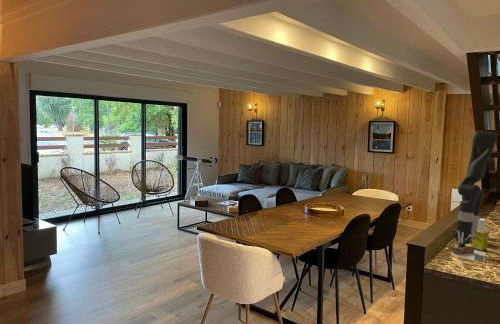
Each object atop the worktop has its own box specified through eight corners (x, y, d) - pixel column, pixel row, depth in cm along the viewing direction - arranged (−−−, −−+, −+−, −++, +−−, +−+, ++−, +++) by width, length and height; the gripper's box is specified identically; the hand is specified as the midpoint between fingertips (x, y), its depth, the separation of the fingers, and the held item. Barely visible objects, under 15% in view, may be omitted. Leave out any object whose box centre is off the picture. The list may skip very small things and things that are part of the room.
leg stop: (474, 258, 194) (475, 254, 194) (483, 260, 192) (484, 256, 192) (474, 259, 193) (474, 255, 192) (483, 261, 190) (483, 257, 190)
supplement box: (482, 251, 213) (484, 233, 212) (471, 248, 218) (473, 230, 217) (486, 250, 217) (489, 232, 216) (475, 247, 222) (478, 229, 221)
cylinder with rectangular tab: (473, 234, 253) (475, 217, 252) (488, 237, 248) (491, 219, 247) (470, 236, 246) (473, 219, 245) (486, 240, 241) (489, 221, 240)
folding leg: (456, 254, 199) (457, 248, 198) (452, 253, 201) (453, 246, 200) (473, 252, 204) (474, 246, 204) (469, 251, 207) (470, 245, 206)
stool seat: (455, 248, 216) (455, 246, 215) (485, 255, 207) (485, 252, 207) (451, 257, 198) (451, 255, 198) (484, 265, 190) (484, 262, 190)
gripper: (481, 222, 200) (476, 253, 202) (460, 216, 212) (456, 245, 214) (470, 223, 198) (466, 254, 199) (450, 216, 210) (446, 246, 212)
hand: (461, 249), depth 207 cm, fingers closed
